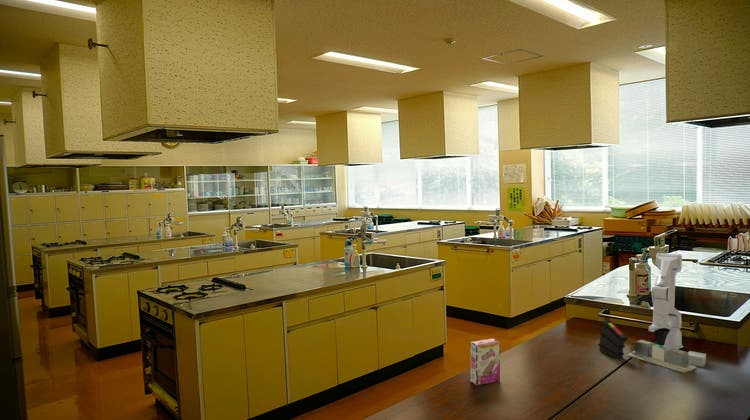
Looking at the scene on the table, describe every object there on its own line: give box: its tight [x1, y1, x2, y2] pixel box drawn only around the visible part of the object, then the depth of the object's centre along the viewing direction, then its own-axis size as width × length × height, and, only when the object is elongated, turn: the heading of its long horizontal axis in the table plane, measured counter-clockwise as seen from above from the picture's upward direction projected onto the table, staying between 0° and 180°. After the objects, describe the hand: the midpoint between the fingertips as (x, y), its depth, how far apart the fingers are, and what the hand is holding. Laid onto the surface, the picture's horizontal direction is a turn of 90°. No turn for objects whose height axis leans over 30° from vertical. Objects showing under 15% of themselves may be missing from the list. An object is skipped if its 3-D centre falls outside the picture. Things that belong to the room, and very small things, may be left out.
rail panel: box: [627, 339, 697, 374], centre depth 208 cm, size 9×24×7 cm, turn 30°
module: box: [652, 343, 669, 361], centre depth 208 cm, size 4×5×5 cm
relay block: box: [688, 350, 707, 368], centre depth 205 cm, size 6×6×4 cm
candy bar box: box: [469, 338, 501, 387], centre depth 192 cm, size 11×5×16 cm, turn 111°
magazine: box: [597, 320, 629, 360], centre depth 217 cm, size 4×13×15 cm, turn 19°
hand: (660, 345), depth 208 cm, fingers closed
